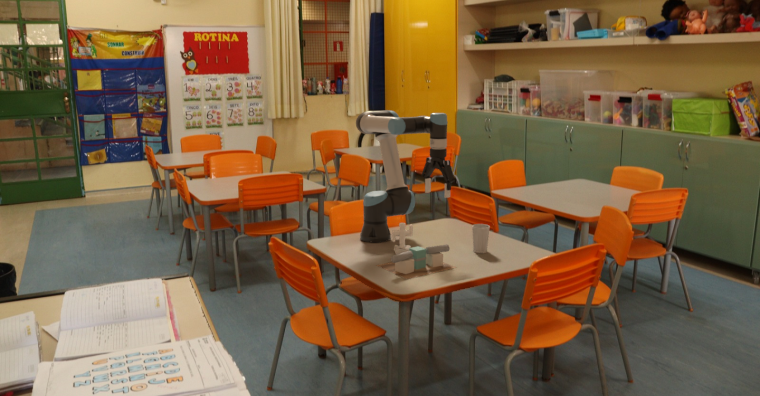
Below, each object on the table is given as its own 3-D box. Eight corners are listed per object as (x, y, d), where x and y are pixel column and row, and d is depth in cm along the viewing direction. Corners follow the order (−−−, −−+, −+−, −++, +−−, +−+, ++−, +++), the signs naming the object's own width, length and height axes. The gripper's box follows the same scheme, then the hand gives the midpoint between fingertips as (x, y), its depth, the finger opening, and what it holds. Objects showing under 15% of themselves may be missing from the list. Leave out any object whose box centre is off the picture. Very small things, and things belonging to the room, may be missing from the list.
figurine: (392, 252, 285) (392, 220, 282) (412, 253, 285) (413, 221, 281) (391, 257, 278) (391, 224, 275) (412, 257, 277) (412, 225, 274)
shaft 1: (399, 276, 249) (399, 257, 247) (388, 273, 253) (388, 254, 252) (415, 270, 256) (415, 252, 254) (404, 267, 260) (405, 249, 259)
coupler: (408, 266, 262) (408, 248, 260) (418, 264, 265) (418, 246, 263) (416, 269, 258) (416, 251, 256) (426, 267, 261) (426, 249, 259)
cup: (468, 251, 287) (468, 226, 284) (477, 247, 293) (478, 223, 290) (482, 254, 282) (483, 229, 279) (492, 251, 287) (493, 225, 285)
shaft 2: (443, 260, 270) (444, 242, 268) (450, 264, 265) (451, 246, 263) (423, 263, 266) (423, 245, 264) (430, 267, 260) (430, 249, 259)
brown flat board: (375, 267, 264) (375, 265, 264) (423, 257, 278) (423, 254, 278) (407, 281, 246) (407, 279, 246) (456, 269, 261) (456, 267, 260)
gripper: (414, 146, 285) (413, 191, 289) (450, 151, 265) (449, 200, 269) (426, 144, 289) (426, 189, 293) (463, 150, 269) (462, 198, 273)
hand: (437, 194), depth 281 cm, fingers open, 13 cm apart
